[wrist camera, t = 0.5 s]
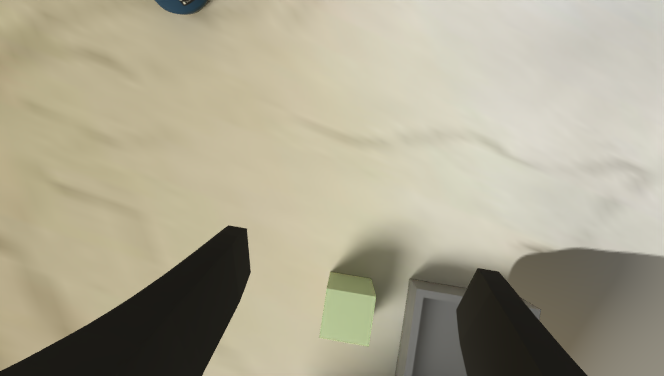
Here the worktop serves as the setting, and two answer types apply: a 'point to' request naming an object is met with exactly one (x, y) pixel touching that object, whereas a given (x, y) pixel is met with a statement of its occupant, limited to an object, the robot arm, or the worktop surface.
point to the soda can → (182, 6)
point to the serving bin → (433, 331)
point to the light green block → (348, 309)
